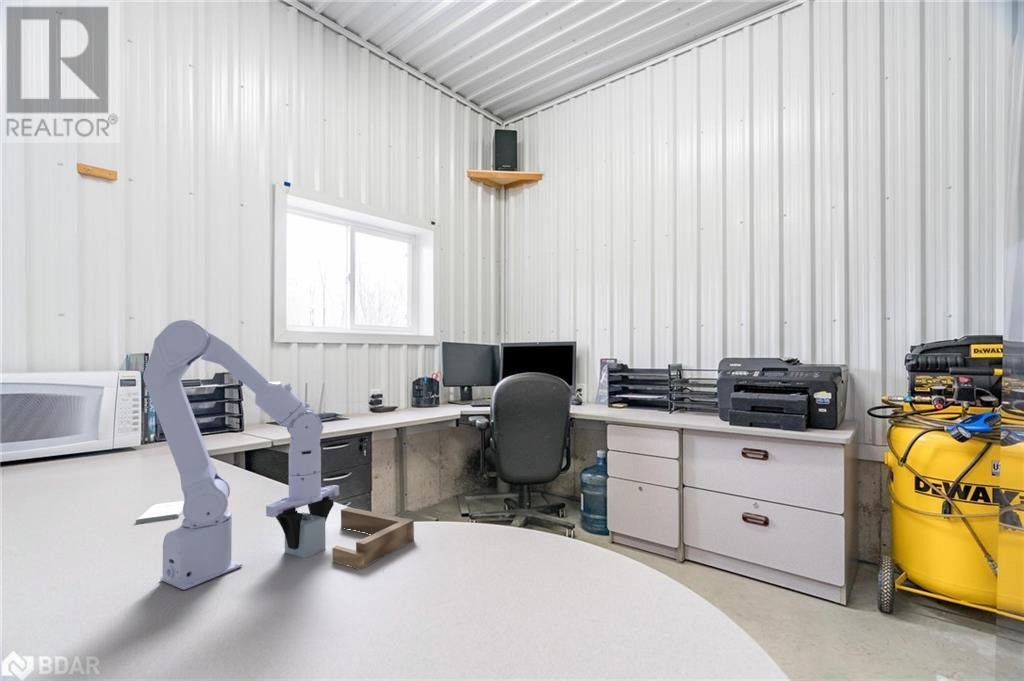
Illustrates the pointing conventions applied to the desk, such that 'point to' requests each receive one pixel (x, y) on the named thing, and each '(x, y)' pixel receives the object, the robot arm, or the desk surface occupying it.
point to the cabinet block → (309, 536)
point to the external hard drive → (162, 512)
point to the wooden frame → (372, 536)
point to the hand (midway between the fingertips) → (305, 543)
